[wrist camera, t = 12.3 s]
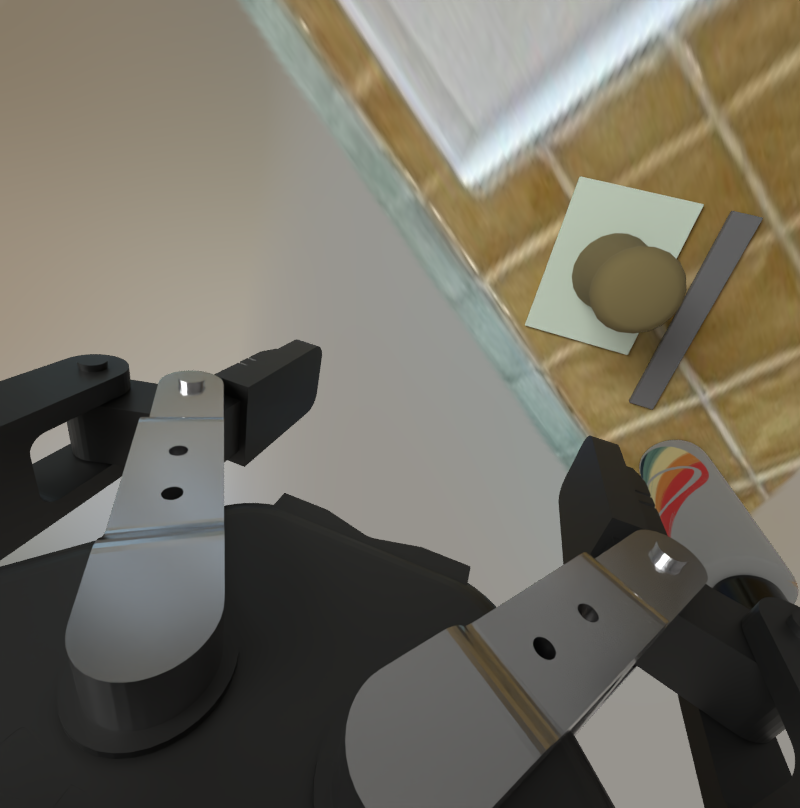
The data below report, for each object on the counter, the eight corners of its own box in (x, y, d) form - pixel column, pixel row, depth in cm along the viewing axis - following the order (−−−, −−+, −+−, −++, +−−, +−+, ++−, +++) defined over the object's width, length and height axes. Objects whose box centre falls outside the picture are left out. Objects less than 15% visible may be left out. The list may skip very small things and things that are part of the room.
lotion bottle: (627, 451, 40) (700, 637, 22) (694, 428, 37) (835, 618, 20) (652, 497, 41) (739, 709, 23) (718, 479, 38) (872, 700, 21)
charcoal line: (730, 211, 30) (733, 211, 30) (760, 217, 30) (763, 217, 30) (628, 400, 38) (629, 402, 37) (651, 407, 37) (652, 409, 37)
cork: (672, 259, 32) (730, 277, 23) (616, 324, 35) (647, 364, 25) (606, 217, 32) (636, 218, 23) (556, 285, 35) (563, 311, 26)
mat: (579, 176, 32) (580, 176, 32) (702, 204, 31) (704, 204, 30) (525, 324, 38) (525, 325, 37) (626, 353, 36) (627, 355, 36)
